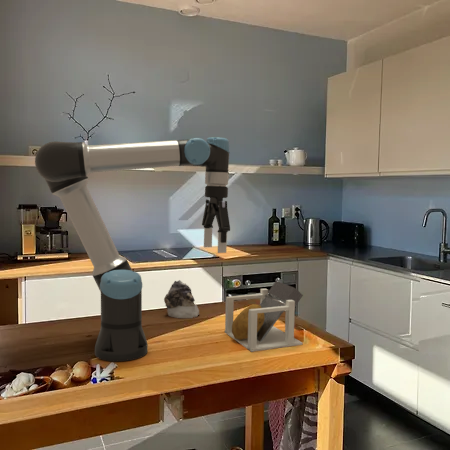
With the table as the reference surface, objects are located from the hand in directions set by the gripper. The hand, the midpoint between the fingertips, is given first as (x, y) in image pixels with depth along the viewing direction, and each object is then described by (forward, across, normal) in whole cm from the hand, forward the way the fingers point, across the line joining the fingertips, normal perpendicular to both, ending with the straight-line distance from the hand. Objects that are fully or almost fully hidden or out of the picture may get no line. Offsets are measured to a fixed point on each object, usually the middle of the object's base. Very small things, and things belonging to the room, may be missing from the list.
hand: (214, 249), depth 158 cm
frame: (+28, -11, -13) cm, 33 cm away
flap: (+21, -11, -18) cm, 29 cm away
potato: (+24, -12, -11) cm, 28 cm away
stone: (+28, +23, +4) cm, 37 cm away
